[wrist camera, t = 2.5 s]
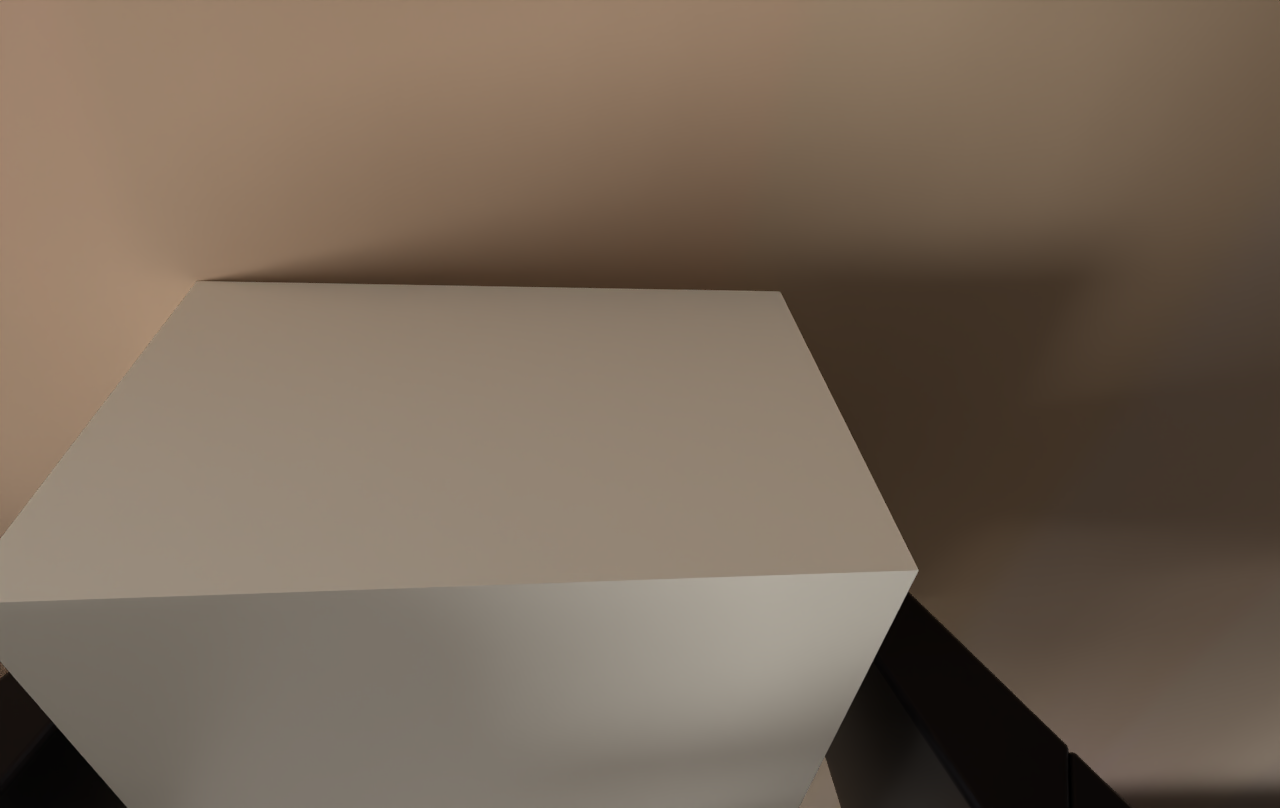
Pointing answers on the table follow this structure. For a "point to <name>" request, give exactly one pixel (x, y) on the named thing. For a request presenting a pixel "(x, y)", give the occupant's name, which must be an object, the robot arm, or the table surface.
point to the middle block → (456, 554)
